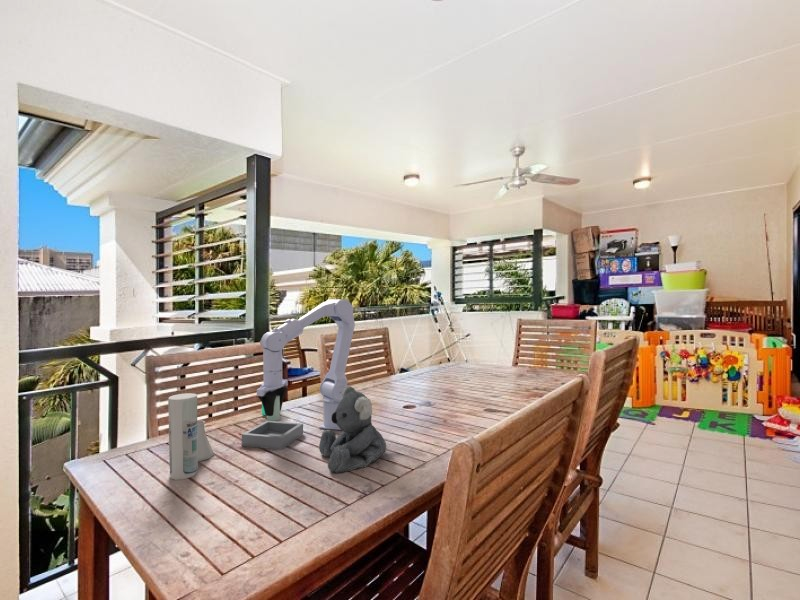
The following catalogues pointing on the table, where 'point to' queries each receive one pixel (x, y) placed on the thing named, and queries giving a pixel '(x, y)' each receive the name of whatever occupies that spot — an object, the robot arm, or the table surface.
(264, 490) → the table surface
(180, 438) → the spray can
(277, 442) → the bin
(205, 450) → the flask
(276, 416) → the cylinder
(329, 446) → the koala plush
